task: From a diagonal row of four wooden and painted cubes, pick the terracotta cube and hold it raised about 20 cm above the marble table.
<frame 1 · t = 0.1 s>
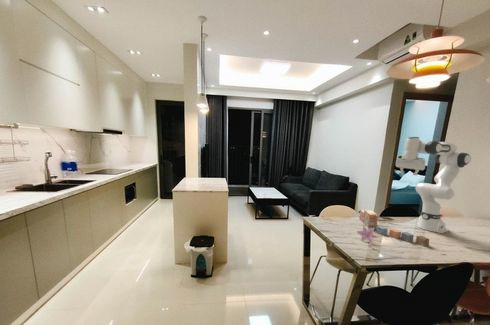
hand: (408, 174, 159), 48 cm above the table, fingers open, 8 cm apart
lily: (366, 241, 144), on the table
walnut cube: (422, 244, 143), on the table
slate blue cube: (381, 233, 158), on the table
terracotta cube: (394, 236, 153), on the table
stack of blocks: (367, 224, 177), on the table
charcoal cube: (406, 240, 148), on the table
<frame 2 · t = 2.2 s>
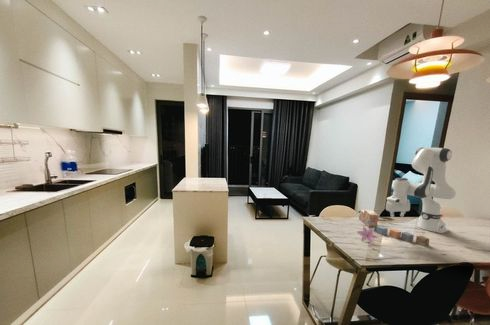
hand: (397, 216, 151), 16 cm above the table, fingers open, 8 cm apart
nothing on the table moved.
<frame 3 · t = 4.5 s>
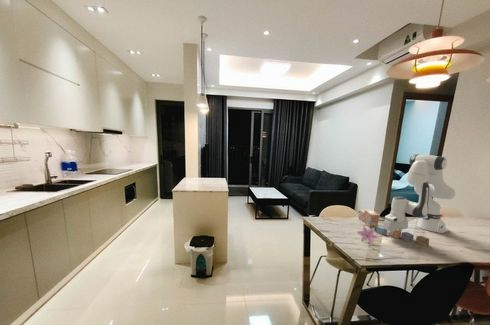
hand: (395, 234, 153), 2 cm above the table, fingers closed on terracotta cube, 5 cm apart
terracotta cube: (394, 236, 153), on the table, touching gripper
everything else where it was.
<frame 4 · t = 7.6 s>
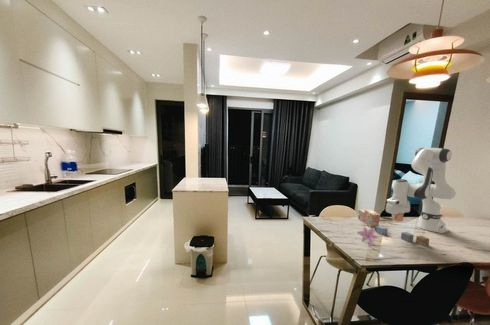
hand: (397, 218, 151), 15 cm above the table, fingers closed on terracotta cube, 5 cm apart
terracotta cube: (396, 220, 152), point 13 cm above the table, touching gripper
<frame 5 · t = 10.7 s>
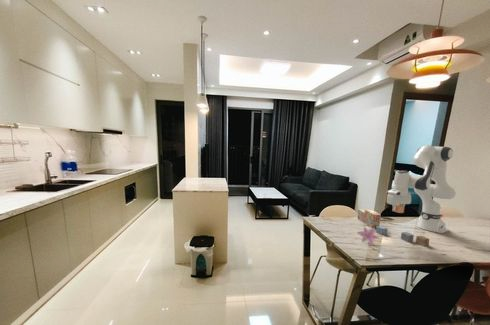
hand: (398, 209, 151), 22 cm above the table, fingers closed on terracotta cube, 5 cm apart
terracotta cube: (397, 211, 151), point 20 cm above the table, touching gripper
at the end: the gripper is holding terracotta cube; terracotta cube point 19.9 cm above the table; charcoal cube moved 0.1 cm from its start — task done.
